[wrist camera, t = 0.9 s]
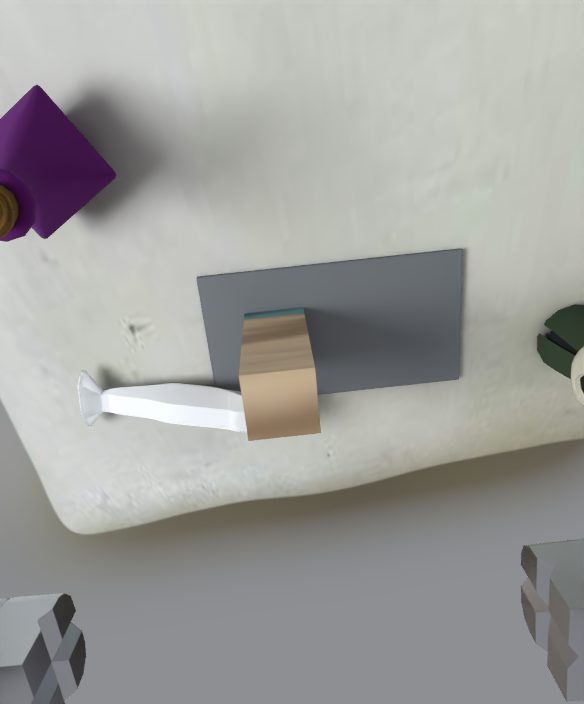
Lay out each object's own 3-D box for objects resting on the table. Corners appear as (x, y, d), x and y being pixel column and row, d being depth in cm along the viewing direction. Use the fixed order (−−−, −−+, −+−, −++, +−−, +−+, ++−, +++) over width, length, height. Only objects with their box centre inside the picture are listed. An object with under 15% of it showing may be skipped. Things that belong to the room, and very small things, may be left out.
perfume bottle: (128, 170, 43) (42, 210, 26) (59, 231, 44) (-63, 305, 28) (53, 84, 40) (-94, 69, 24) (-17, 152, 42) (-200, 182, 25)
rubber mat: (197, 276, 46) (196, 278, 46) (460, 248, 46) (462, 249, 46) (218, 403, 51) (218, 405, 51) (457, 377, 51) (458, 379, 51)
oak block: (244, 313, 47) (238, 375, 36) (303, 307, 47) (315, 367, 36) (251, 366, 49) (248, 440, 38) (308, 360, 49) (320, 432, 38)
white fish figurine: (285, 428, 51) (282, 452, 47) (92, 413, 52) (75, 437, 48) (288, 374, 49) (285, 396, 45) (86, 360, 49) (67, 380, 46)
